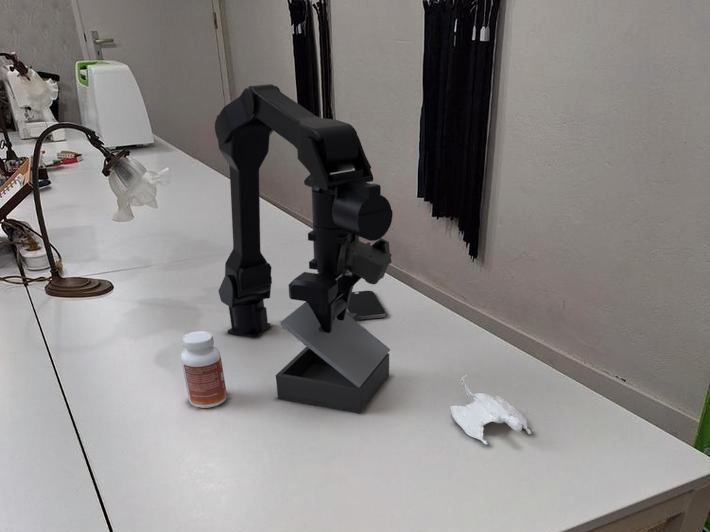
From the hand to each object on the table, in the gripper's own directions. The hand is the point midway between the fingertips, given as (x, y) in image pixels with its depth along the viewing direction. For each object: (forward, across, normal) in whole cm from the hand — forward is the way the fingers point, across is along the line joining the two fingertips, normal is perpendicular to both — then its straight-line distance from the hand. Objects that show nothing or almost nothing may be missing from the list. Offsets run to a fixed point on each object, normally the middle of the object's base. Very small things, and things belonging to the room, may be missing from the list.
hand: (334, 326), depth 103 cm
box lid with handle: (+2, 0, 0) cm, 2 cm away
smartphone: (+11, +36, +9) cm, 39 cm away
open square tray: (+11, 0, 0) cm, 11 cm away
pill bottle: (+12, -11, +18) cm, 24 cm away
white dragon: (+10, -2, -26) cm, 28 cm away
